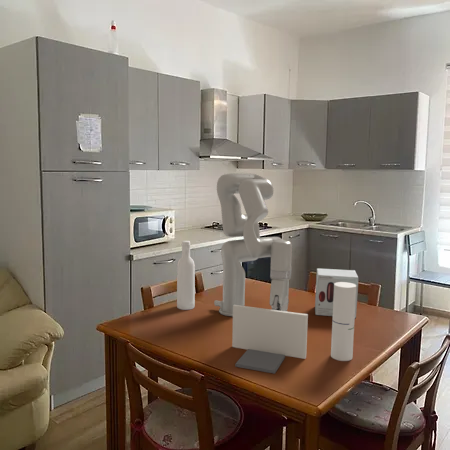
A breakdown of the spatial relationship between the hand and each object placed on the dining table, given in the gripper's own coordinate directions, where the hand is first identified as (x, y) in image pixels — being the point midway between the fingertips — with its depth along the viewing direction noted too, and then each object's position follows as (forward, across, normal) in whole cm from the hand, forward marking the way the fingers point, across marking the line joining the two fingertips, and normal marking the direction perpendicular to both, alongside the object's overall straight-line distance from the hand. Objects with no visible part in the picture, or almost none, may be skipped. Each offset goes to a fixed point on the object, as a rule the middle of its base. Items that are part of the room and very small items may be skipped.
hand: (279, 321), depth 175 cm
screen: (+7, +14, 0) cm, 15 cm away
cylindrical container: (+7, +8, +24) cm, 26 cm away
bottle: (+7, -20, -48) cm, 52 cm away
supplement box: (+7, -40, +15) cm, 43 cm away
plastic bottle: (+7, 0, 0) cm, 7 cm away
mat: (+7, +23, 0) cm, 24 cm away
